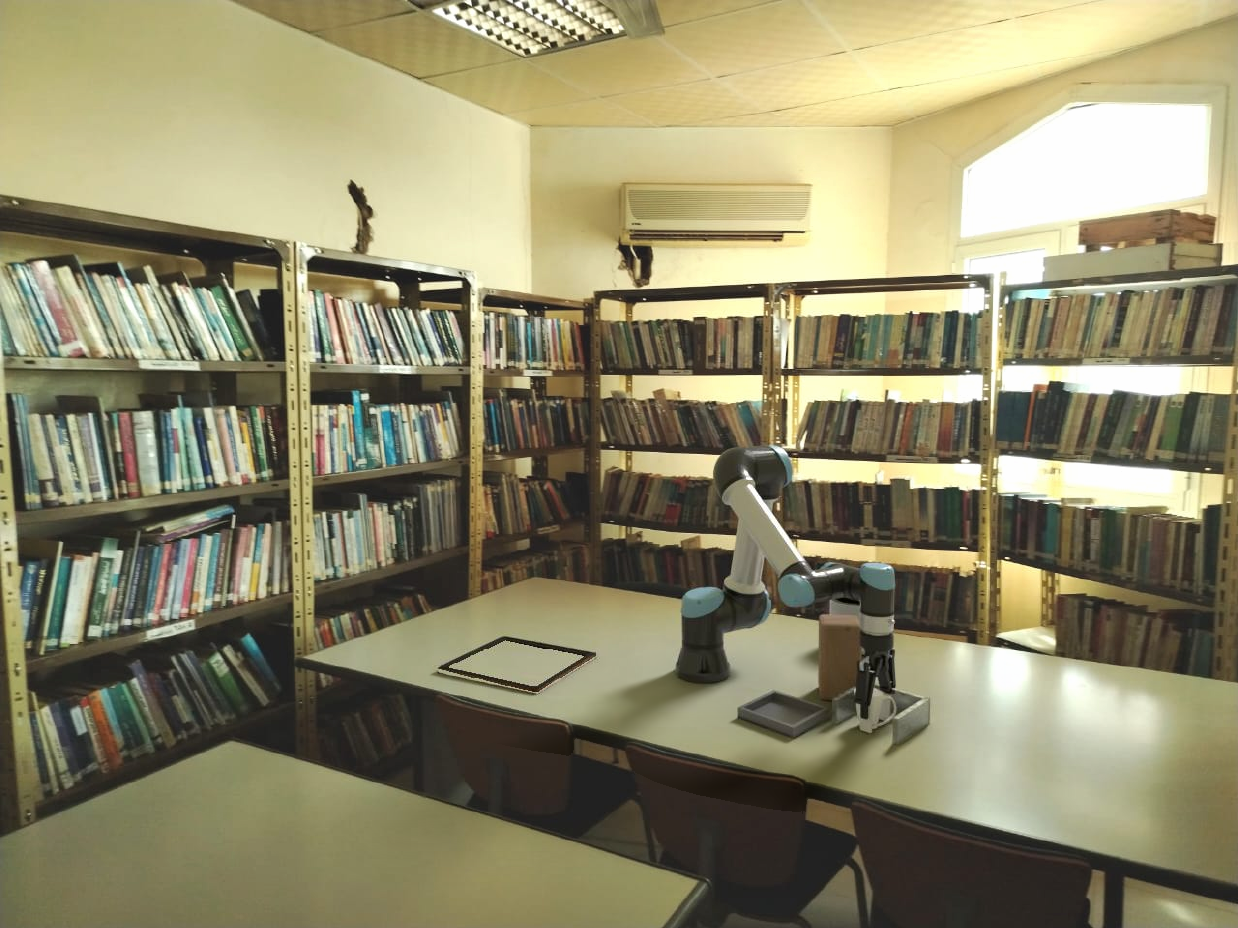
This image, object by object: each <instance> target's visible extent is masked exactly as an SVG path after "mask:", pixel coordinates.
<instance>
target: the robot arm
mask: <svg viewBox="0 0 1238 928" xmlns="http://www.w3.org/2000/svg"><path fill="white" fill-rule="evenodd" d="M793 473H794V470H793V464H792V460H791V458H790V457H789V454H788V453H787V451H785V449H783V448H782V447H780V446H778V445H773V444H772V445H767V444H762V445H754V446H753V445H752V446H743V447H741V446H737V447H732V448H728V449H727V450H725V451H724V452H722V453H721V454H720V455H719V456H718V458H717V459H716V461H715V463H714V466H713V471H712V479H713V480H712V481H713V485H714V488H715V490H716V491H715V492H716V493H717V495H718V496H719V498H720V499H721V501H722V502H723V504H725V505H726V506H730V507H731V509H732V511H734V514H735V515H736V516H737V518H738V522H737V530H736V535H735V543H734V548H733V549H734V550H733V555H732V556H733V557H732V563H731V570H730V575H728V576H727V577H726V578H725V579H724V581H723V587H722V588H723V589H720V588H719V587H714V586H706V587H702V586H701V587H697V588H693V589H691V590H688V591H686V592H685V593H684V595H683V596H682V598H681V605H680V606H681V607H680V614H681V647H680V650H679V654H678V657H677V661H676V664H675V675H676V676H677V677H678V678H679V679H681V680H683V681H687V682H691V683H697V684H698V683H699V684H710V683H711V684H712V683H718V682H722V681H725V680H726V679H728V678H729V677H730V676H731V665H730V663H729V662H730V661H728V658H727V654H726V650H725V647H724V643H725V641H724V635H725V634H728V633H732V632H735V631H737V632H738V631H741V630H746V629H753V628H755V627H758V626H761V624H763V623H765V622H766V621H767V619H768V617H769V616H770V613H771V609H772V603H771V602H772V601H771V599H769V598H770V595H769V592H768V591H767V589H766V585H765V583H764V582H763V581H762V575H763V569H764V564H765V563H764V562H765V559H766V560H767V562H768V563H769V565H770V567H772V569H773V571H774V573H775V574H776V575H777V577H778V578H779V581H778V585H777V592H778V593H779V598H780V600H781V601H782V602H783V604H785V605H786V606H787V607H790V608H799V607H807V606H809V605H810V606H811V605H813V604H816V603H820V602H826V601H827V602H828V601H830V600H833V599H837V598H842V597H845V598H849V599H853V600H856V601H860V628H861V630H860V640H859V644H860V646H861V647H862V648H863V649H864V650H865V654H864V656H863V659H861V661H859V660H858V661H857V678H856V689H855V700H854V702H855V703H857V704H860V721H859V722H860V726H859V730H860V731H863V732H865V733H868V734H872V733H873V729H872V717H873V705H871V699H872V694H873V689H874V685H875V683H876V680H877V681H878V684H879V686H880V690H881V691H883V692H884V695H887V696H890V694H895V690H892V688H893V689H895V688H896V687H897V684H896V683H897V682H896V681H897V680H896V668H895V655H896V650H895V649H893V648H894V641H895V640H894V639H895V636H894V635H895V634H894V632H893V631H894V626H895V625H894V624H895V623H896V621H895V607H894V606H895V591H896V582H895V581H896V579H895V570H894V568H893V566H891V565H890V564H887V563H881V562H866V563H863V564H861V566H860V568H858V567H856V566H855V567H854V566H851V565H846V564H844V563H842V562H831V561H829V562H826V563H824V565H822V566H821V567H820V568H819V569H814V570H813V569H812V568H811V566H810V564H809V563H808V562H807V561H806V560H805V557H803V555H802V554H801V552H800V551H799V549H798V548H797V547H796V545H795V544H794V542H793V541H792V539H791V538H790V537H789V535H788V533H787V532H786V530H784V528H783V527H782V525H781V524H780V522H779V521H778V520H777V518H776V516H775V515H774V514H773V507H774V505H773V504H774V502H776V501H778V500H779V499H780V497H781V493H782V488H785V487H786V486H788V484H791V483H790V482H792V479H793V475H794V474H793ZM890 716H891V713H890V698H887V699H883V701H882V706H881V712H880V717H879V720H881V721H885V720H886V719H888V718H889V717H890ZM889 722H890V721H888V722H887V723H889Z"/></svg>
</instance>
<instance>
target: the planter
mask: <svg viewBox="0 0 1238 928" xmlns="http://www.w3.org/2000/svg"><path fill="white" fill-rule="evenodd" d="M829 614H832V615H855V616H857V617H858V619H859V622H860V601H856V600H853V599H849V598H845V597H842V598H837V599H833V600H829ZM864 654H865V650H864V649H863V648H862V647H861V657H862V656H863V657H864Z"/></svg>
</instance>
